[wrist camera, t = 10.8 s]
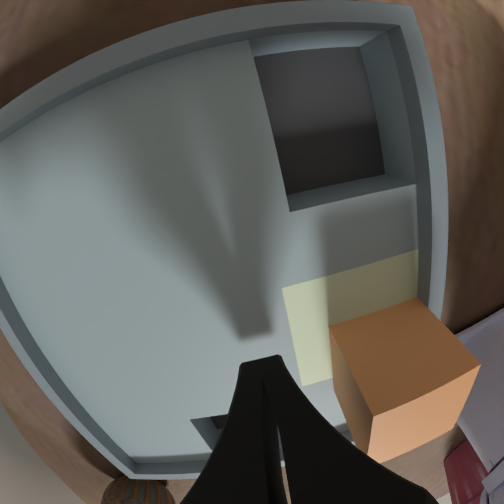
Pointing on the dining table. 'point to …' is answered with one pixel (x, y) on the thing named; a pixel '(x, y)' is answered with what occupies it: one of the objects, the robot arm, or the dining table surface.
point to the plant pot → (465, 474)
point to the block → (399, 378)
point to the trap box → (217, 216)
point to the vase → (136, 492)
